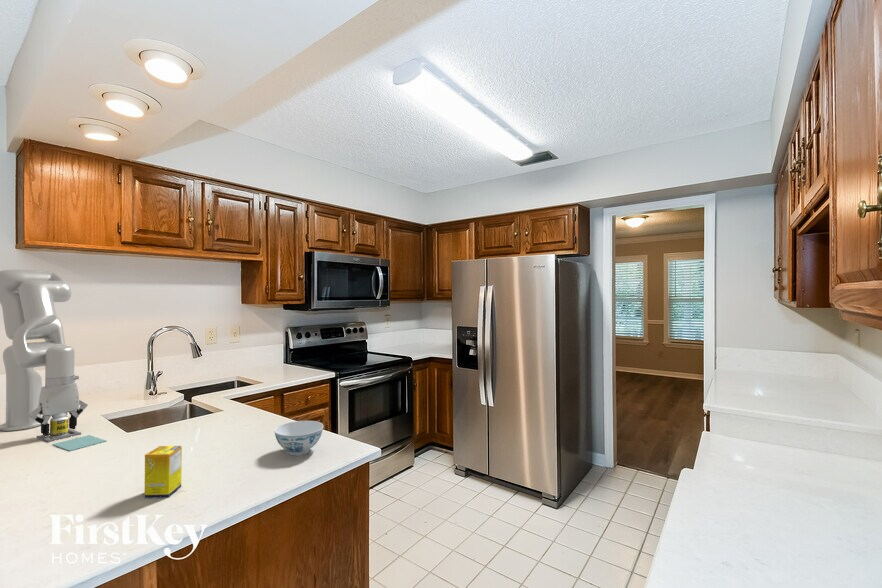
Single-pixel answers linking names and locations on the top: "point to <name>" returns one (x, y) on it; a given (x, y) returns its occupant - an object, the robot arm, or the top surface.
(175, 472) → the supplement box
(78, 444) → the teal mat
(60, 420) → the supplement bottle
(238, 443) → the top surface
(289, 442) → the chinaware
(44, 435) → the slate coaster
